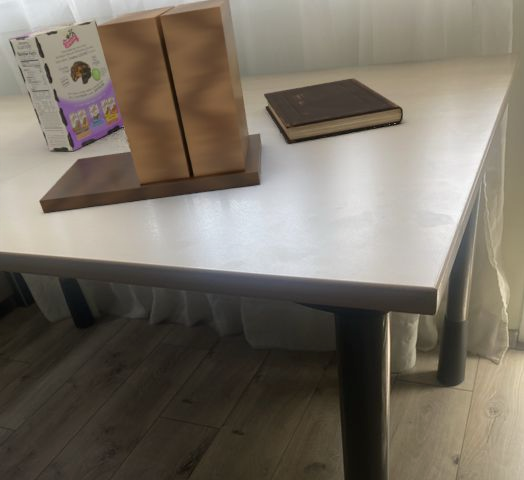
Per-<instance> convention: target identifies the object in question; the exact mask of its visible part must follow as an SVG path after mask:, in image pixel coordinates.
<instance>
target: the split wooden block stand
mask: <svg viewBox="0 0 524 480" xmlns="http://www.w3.org/2000/svg"><path fill="white" fill-rule="evenodd" d="M231 10H232V9H231V4H230V0H201V1H195V2H188V3H181V4H178V5H177V6H175V5H171V6H165V7H159V8H153V9H147V10H139V11H134V12H128V13H125V14H122V15H120V16H118V17H115V18H113V19H110V20H108V21H105V22H102V23H101V24H100V23H99V24H97V26H96V28H97V32H98V35H99V39H100V43H101V46H102V50H103V53H104V57H105V61H106V64H107V68H108V71H109V75H110V79H111V82H112V86H113V89H114V93H115V97H116V100H117V104H118V107H119V111H120V115H121V118H122V122H123V125H124V126H123V129H124V133H125V136H126V139H127V143H128V147H129V150H130V151H124V152H119V153H118V152H117V153H111V154H104V155H103V154H102V155H96V156H90V157H83V158H82V157H81V158H78V159H76V161H75V162H74V163H73V164H72V165H71V166H70V167H69V168H68V169H67V170H66V171H65V172H64V174H63V175H62V176H61V177H60V178H59V179H58V180H57V181H56V182H55V183H54V184H53V185H52V186H51V187H50V189H49V190H48V191H47V192H45V194H44V195H43V196H42V197H41V198H40V199H39V201H38V202H39V204H40V207H41V210H42V212H43V213H53V212H60V211H67V210H76V209H83V208H89V207H91V208H92V207H98V206H104V205H105V206H107V205H113V204H120V203H128V202H129V203H130V202H134V201H135V202H136V201H137V202H138V201H143V200H150V199H151V200H152V199H158V198H167V197H172V196H173V197H175V196H180V195H182V196H183V195H190V194H197V193H205V192H212V191H219V190H226V189H233V188H235V189H236V188H242V187H249V186H256V185H261V170H262V169H261V165H262V138H261V133H253V134H249V127H248V121H247V113H246V106H245V100H244V93H243V86H242V79H241V71H240V66H239V58H238V51H237V45H236V38H235V31H234V24H233V19H232V18H233V16H232V13H231V12H232V11H231Z"/></svg>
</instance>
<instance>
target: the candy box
mask: <svg viewBox="0 0 524 480" xmlns="http://www.w3.org/2000/svg"><path fill="white" fill-rule="evenodd" d="M96 26H98V23H97V20H96V19H90V20H89V19H88V20H83V21H76V22H69V23H65V24H60V25H56V26H50V27H48V28H47V27H46V28H43V29H40V30H36V31H31V32H29V33H28V32H27V33H24V34H22V35H21V34H20V35H18V36H14V37H10V38H8V42H9V44H10V47H11V50H12V52H13V56H14V58H15V61H16V64H17V66H18V69H19V72H20V75H21V77H22V80H23V83H24V86H25V88H26V91H27V93H28V96H29V99H30V102H31V105H32V107H33V109H34V113H35V115H36V118H37V121H38V125H39V126H40V129H41V132H42V134H43V137H44V140H45V142H46V143H45V144H46V145H47V148H48V151H55V152H56V151H57V152H60V151H61V152H74V151H77V150H79V149H81V148H83V147H84V146H87V145H89V144H91V143H93V142H95V141H97V140H99V139H101V138H103V137H105V136H107V135H108V134H111V133H113V132H114V131H117V130H119V129H121V128H123V127H124V125H123V122H122V118H121V115H120V111H119V107H118V104H117V100H116V97H115V93H114V89H113V86H112V82H111V79H110V75H109V71H108V68H107V64H106V61H105V57H104V53H103V50H102V46H101V43H100V39H99V35H98V32H97V28H96Z"/></svg>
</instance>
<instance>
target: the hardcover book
mask: <svg viewBox="0 0 524 480" xmlns="http://www.w3.org/2000/svg"><path fill="white" fill-rule="evenodd" d="M263 96H264V98H265V100H266V102H267V105H266V106H265V109H266V111H267V113H268V114H269V115H270V117H271V118H272V120H273V122H274V124H276V126H277V128H278V130H279V132H280V133H281V134H282V136H283V138H284V139H285V141H286V142H287V144H293V143H294V144H295V143H300V142H305V141H310V140H316V139H322V138H328V137H333V136H339V135H345V134H351V133H355V132H361V130H362V131H366V130H365V129H367V130H371V129H370V128H373V129H375V128H374V127H379V126H384V125H389V124H394V123H399V124H401V122H402V121H403V117H404V110H403V107H402V106H400V105H398V104H397V103H395V102H393V101H391V100H390V99H388V98H387V97H386V96H384V95H382V94H381V93H379V92H377V91H376V90H374V89H372V88H371V87H369V86H367V85H366V84H364V83H362V82H361V81H359V80H358V79H356V78H355V77H352V78H346V79H341V80H334V81H329V82H324V83H319V84H311V85H307V86H301V87H294V88H290V89H283V90H279V91H278V90H277V91H272V92H267V93H264V94H263ZM384 127H385V126H384ZM379 128H380V127H379Z"/></svg>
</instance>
